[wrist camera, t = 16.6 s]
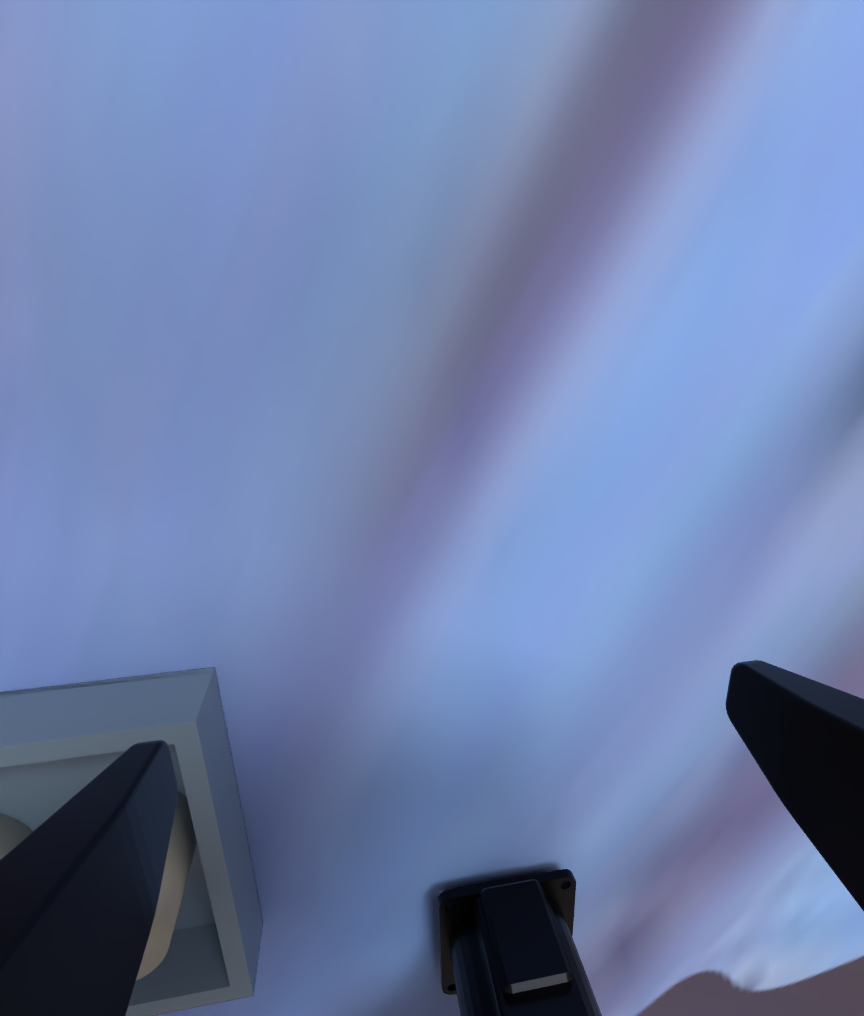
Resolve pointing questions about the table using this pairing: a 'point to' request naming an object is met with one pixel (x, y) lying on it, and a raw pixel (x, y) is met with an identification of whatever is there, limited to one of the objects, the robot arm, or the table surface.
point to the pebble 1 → (11, 834)
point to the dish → (200, 776)
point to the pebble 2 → (171, 886)
